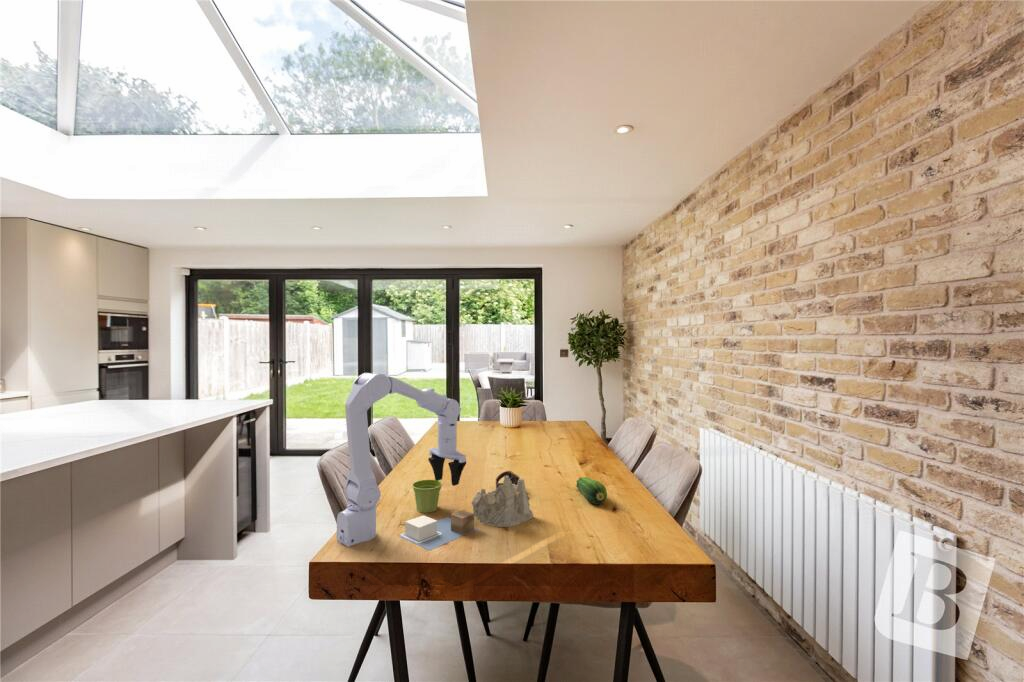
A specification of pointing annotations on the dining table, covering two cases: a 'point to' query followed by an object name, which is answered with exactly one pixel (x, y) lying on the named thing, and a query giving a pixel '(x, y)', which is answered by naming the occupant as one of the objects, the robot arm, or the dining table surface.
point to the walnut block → (462, 522)
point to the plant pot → (427, 494)
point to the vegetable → (592, 490)
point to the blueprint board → (437, 535)
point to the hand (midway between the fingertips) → (446, 482)
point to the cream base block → (421, 528)
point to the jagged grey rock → (503, 505)
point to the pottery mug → (512, 477)
